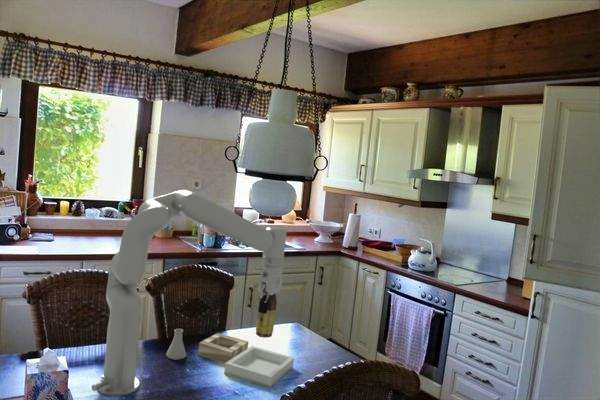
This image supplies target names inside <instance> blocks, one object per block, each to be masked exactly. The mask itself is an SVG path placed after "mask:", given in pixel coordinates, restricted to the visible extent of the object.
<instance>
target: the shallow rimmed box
mask: <svg viewBox="0 0 600 400" xmlns="http://www.w3.org/2000/svg"><path fill="white" fill-rule="evenodd" d="M248 348H249V341H248V340H245V339H240V338H237V337H234V336H231V335H226V334H223V333H220V332H217V333H215V334H213V335H211V336H210V337H208V338H205V339H203V340H202V341H200V342H199V344H198V352H197V353H198V354H197V356H199V357H202V358H205V359H209V360H212V361H215V362H219V363H221V364H225V363H226V362H228V361H229V360H231V359H232V358H234V357H236V356H237V355H239V354H240V353H242V352H243V351H245V350H246V349H248Z"/></svg>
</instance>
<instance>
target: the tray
mask: <svg viewBox="0 0 600 400" xmlns="http://www.w3.org/2000/svg"><path fill="white" fill-rule="evenodd" d="M294 363H295V357H292V356H289V355H286V354H282V353H279V352H275V351H272V350H269V349H264V348H261V347H257V346H254V345H251V346H250V347H249V346H248V349H246V350H245V351H243V352H242V353H240V354H239V355H237V356H236V357H234V358H232V359H231V360H229V361H228V362H226V363H225V365H224V375H227V376H229V377H232V378H235V379H239V380H242V381H245V382H248V383H252V384H255V385H258V386H261V387H264V388H267V389H271V388H272V387H274V386H275V385H276V384H277V383H278V382H279V381H281V379H282V378H284V377H285V376H286V375H287V374H289V373H290V371H291V370H293V369H294Z"/></svg>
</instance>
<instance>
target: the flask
mask: <svg viewBox="0 0 600 400" xmlns="http://www.w3.org/2000/svg"><path fill="white" fill-rule="evenodd" d="M173 332H174V334H173V335H174V336H173V339H172V341H171V344H170V345H169V348H168V349H167V352H166V353H165V356H166V357H167V358H168V359H171V360H183V359H185V358H186V357H187V356H188V355H187V351H186V349H185V345H184V342H183V341H184V340H183V333H184V329H182V328H176V329H174V330H173Z"/></svg>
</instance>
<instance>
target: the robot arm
mask: <svg viewBox="0 0 600 400" xmlns="http://www.w3.org/2000/svg"><path fill="white" fill-rule="evenodd" d="M137 210H138V211H137V214H136V215H134V216H133V217H132V218H130V220H129V221H128V223H127V224H126V226H125V227H124V229H123V232H122V235H121V240H120V245H119V250H118V251H117V253H115V254H114V255H113V257H112V259H111V261H110V264H109V265H110V266H109V271H108V277H107V285H106V292H105V293H106V294H105V298H106V302H107V305H108V308H109V319H108V324H107V331H106V343H105V344H106V346H105V353H104V354H105V356H104V367H103V375H100V376H101V378H100V379H99V380H98V381H97V382H96V383H93V384H92V385H91V389H92V392H96V391H99V392H100V393H102V394H104V395H106V396H115V397H116V396H119V397H120V396H126V395H130V394H131V393H135V392H136V391H137V390H138V389H139V388H140V384H141V383H140V380H139V379H138V378H137V377H136V371H137V370H136V369H137V361H138V350H139V338H140V330H141V322H142V318H143V312H144V301H143V299H142V297H141V294H140V293H139V291H138V285H139V284H140V283H141V282H142V281H143V280H144V278H145V276H146V271H147V263H148V257H149V256H148V255H149V250H150V249H149V248H150V245H151V241H152V239H153V237H154V236H155V235H156V234H158V232H160V231H162V230H164V229H166V228H168V226H169V225H170V224H171V223H170V222H171V220H172V219H174V218H177V217H181V216H183V218H184V217H185V218H186V219H188V220H190V221H191V222H192V221H193V222H194V223H197V224H199V225H201V226H203V227H205V228H208V229H210V230H211V231H214V232H215V233H218V234H220V235H223V236H225V237H227V238H231V239H232V240H234V241H235V240H236V241H237V242H239V243H241V244H244V245H246V246H248V247H250V248H252V249H254V250H256V251H258V252H262V258H261V265H262V268H261V272H260V277H259V283H258V293H257V296H258V302H259V303H258V311H257V313H258V312H261V313H264V314H266V313H267V309H268V302H267V301H268V297H269V295H273V294H275V295H274V296H275V298H276V300H277V299H278V293H279V292H280V291H282V287H283V286H282V284H283V267H284V257H285V249H286V242H287V241H286V240H287V230H286V229H285V228H283V227H279V226H263V225H259V224H256V223H254V222H252V221H249V220H247V219H246V218H244V217H242V216H240V215H239V214H237V213H235V211H232V210H230V209H228V208H226V207H224V206H222V205H220V204H219V203H216V202H214V201H212V200H210V199H208V198H206V197H204V196H202V195H200V194H198V193H196V192H195V191H191V190H188V189H181V190H177V191H173V192H171V193H168V194H164V195H163V194H162V195H160V196H156V197H153V198H150V199H147V200H146V201H143V202H142V203H141V204H140V205H139V208H138V209H137ZM264 292H267V293H264ZM263 295H266V298H265V296H263Z"/></svg>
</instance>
